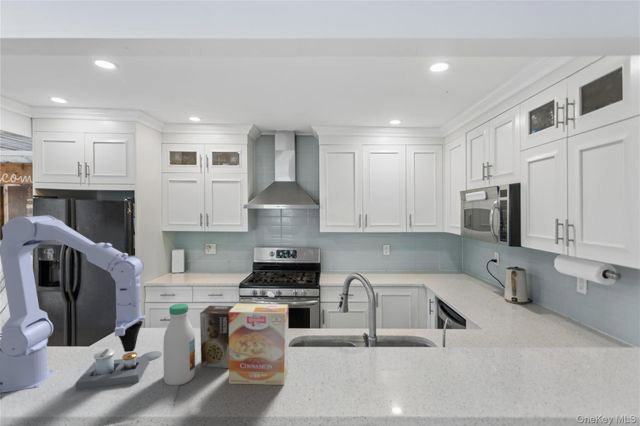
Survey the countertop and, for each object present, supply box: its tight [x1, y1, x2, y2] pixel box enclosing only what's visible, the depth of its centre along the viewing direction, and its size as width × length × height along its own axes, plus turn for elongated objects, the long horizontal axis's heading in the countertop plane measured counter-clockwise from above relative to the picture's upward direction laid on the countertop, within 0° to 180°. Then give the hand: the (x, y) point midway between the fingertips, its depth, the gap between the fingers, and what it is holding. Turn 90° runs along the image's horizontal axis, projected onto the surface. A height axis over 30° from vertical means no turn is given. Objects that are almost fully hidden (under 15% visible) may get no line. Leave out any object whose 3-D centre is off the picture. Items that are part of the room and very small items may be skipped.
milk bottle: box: [162, 303, 196, 386], centre depth 82 cm, size 8×8×20 cm
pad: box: [140, 350, 163, 362], centre depth 93 cm, size 6×6×1 cm
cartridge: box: [93, 348, 116, 376], centre depth 82 cm, size 5×5×7 cm
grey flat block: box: [75, 356, 150, 392], centre depth 83 cm, size 14×10×2 cm
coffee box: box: [199, 305, 235, 369], centre depth 90 cm, size 9×6×16 cm
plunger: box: [121, 351, 138, 370], centre depth 83 cm, size 3×3×4 cm
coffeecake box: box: [228, 303, 289, 386], centre depth 83 cm, size 15×7×20 cm, turn 88°
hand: (129, 350), depth 83 cm, fingers closed
